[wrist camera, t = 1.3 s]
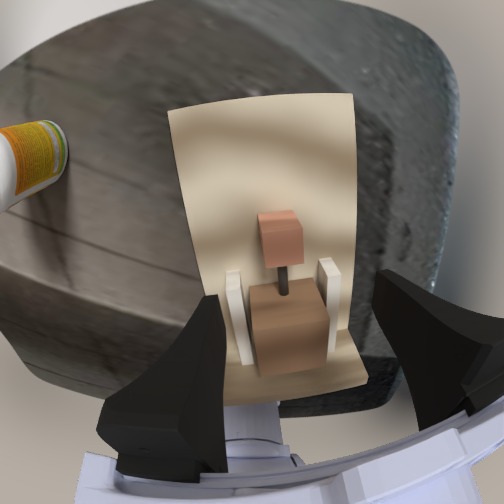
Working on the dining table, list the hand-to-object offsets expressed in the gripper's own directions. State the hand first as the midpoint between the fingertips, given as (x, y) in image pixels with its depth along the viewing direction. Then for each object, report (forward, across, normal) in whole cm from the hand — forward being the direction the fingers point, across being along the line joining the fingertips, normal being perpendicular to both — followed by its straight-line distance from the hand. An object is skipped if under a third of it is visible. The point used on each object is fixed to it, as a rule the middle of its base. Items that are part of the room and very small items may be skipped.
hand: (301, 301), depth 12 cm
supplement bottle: (+10, +17, -9) cm, 21 cm away
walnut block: (+8, 0, +4) cm, 9 cm away
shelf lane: (+9, 0, +1) cm, 9 cm away
